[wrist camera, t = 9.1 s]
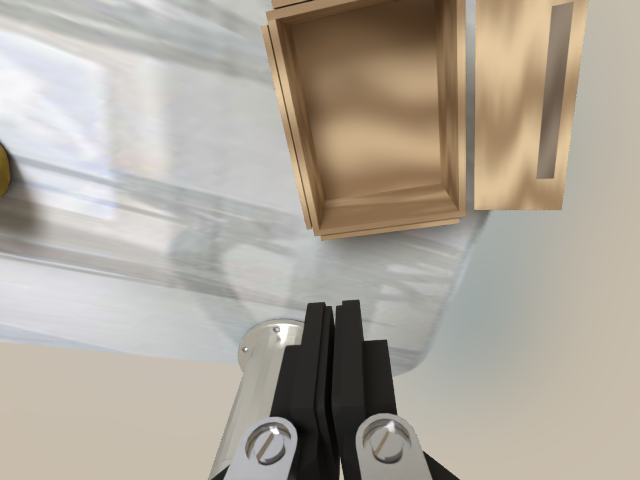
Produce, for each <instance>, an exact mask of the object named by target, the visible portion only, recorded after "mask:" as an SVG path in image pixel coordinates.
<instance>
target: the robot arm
mask: <svg viewBox="0 0 640 480" xmlns="http://www.w3.org/2000/svg"><path fill="white" fill-rule="evenodd" d="M238 361H239V364H240V367H241V369H242V371H243V372H244V374H243V377H242V380H241V383H240V386H239V389H238V392H237V395H236V398H235V401H234V404H233V407H232V410H231V413H230V416H229V418H228V421H227V425H226V428H225V430H224V433H223V436H222V439H221V442H220V445H219V448H218V452H217V454H216V457H215V460H214V463H213V466H212V469H211V472H210V475H209V478H208V480H339V474H340V459H341V464H342V469H343V475H344V480H460V479H458V478H457V477H456V476H455V475H453V474H452V473H451V472H449V471H448V470H447V469H446V468H444V467H443V466H442V465H441V464H439V463H438V462H437V461H435V460H434V459H433V458H432V457H430V456H429V455H428V454H426V453H425V452H424V451H422V448H421V445H420V443H419V440H418V437H417V435H416V433H415V431H414V429H413V427H412V426H411V425H410V424H409V423H408V422H407V421H406V420H404V419H403V418H401V417H399V416H397V409H396V403H395V395H394V387H393V380H392V373H391V365H390V358H389V351H388V344H387V340H372V341H364V337H363V328H362V319H361V310H360V302H359V300H347V301H342V305H340V306H336V320H335V324H334V317H333V311H332V306H326V304H325V302H319V303H308V305H307V311H306V316H305V322H304V323H303V322H299V321H295V320H287V319H279V320H271V321H266V322H263V323H261V324H258V325H256V326H255V327H253V328H252V329H250V330H249V331H248V332H247V333H246V334H245V336H244V338H243V339H242V341H241V344H240V346H239V350H238Z"/></svg>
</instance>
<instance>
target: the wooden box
mask: <svg viewBox="0 0 640 480" xmlns="http://www.w3.org/2000/svg"><path fill="white" fill-rule="evenodd" d="M271 2H272V6H273V9H275V10H272V11H268V12H266V16H267V20H268V25H265V26H261V29H262V33H263V38H264V42H265V47H266V51H267V55H268V60H269V64H270V69H271V73H272V77H273V82H274V86H275V91H276V95H277V100H278V104H279V108H280V113H281V117H282V122H283V126H284V130H285V135H286V139H287V144H288V148H289V152H290V157H291V161H292V166H293V170H294V174H295V179H296V183H297V188H298V192H299V197H300V201H301V205H302V210H303V214H304V219H305V223H306V227H307V229H312V227H313V231H314V236H320V235H321V240H322V241H323V240H331V239H339V238H347V237H355V236H362V235H370V234H378V233H386V232H394V231H401V230H409V229H417V228H425V227H432V226H440V225H448V224H456V223H459V217H465V216H466V22H465V0H272V1H271Z"/></svg>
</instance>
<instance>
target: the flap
mask: <svg viewBox="0 0 640 480" xmlns="http://www.w3.org/2000/svg"><path fill="white" fill-rule="evenodd" d="M587 8H588V0H476V59H475V169H474V210H561V209H562V202H563V193H564V186H565V177H566V170H567V163H568V155H569V147H570V140H571V131H572V124H573V116H574V109H575V108H574V107H575V100H576V93H577V85H578V78H579V70H580V62H581V54H582V46H583V39H584V31H585V23H586V16H587Z"/></svg>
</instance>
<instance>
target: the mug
mask: <svg viewBox="0 0 640 480" xmlns="http://www.w3.org/2000/svg"><path fill="white" fill-rule="evenodd" d="M10 178H11V176H10V171H9V162H8V158H7V154H6V152H5V150H4V149H3V147H2V146H1V145H0V197H1V196H3V195H4V194H5V193H6V192H7V190H8V185H9V182H10Z"/></svg>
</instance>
